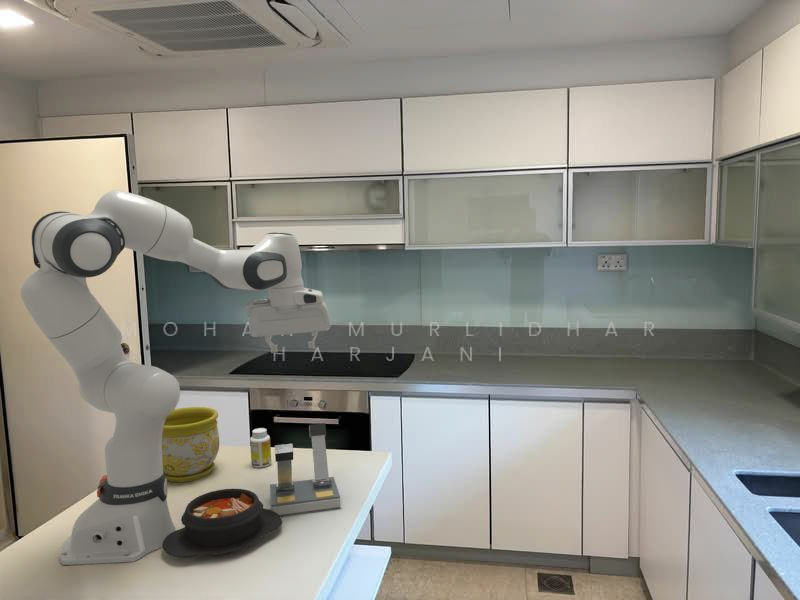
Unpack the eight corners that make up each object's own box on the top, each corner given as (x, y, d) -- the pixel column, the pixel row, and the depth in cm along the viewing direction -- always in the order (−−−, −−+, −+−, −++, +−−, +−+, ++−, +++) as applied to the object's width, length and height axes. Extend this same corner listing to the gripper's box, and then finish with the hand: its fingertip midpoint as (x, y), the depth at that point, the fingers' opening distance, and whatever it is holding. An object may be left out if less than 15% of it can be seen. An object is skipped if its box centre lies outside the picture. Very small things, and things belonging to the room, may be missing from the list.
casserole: (264, 508, 144) (263, 474, 143) (295, 540, 128) (293, 502, 127) (154, 539, 130) (152, 502, 129) (174, 579, 115) (171, 537, 114)
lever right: (313, 487, 145) (308, 424, 151) (313, 488, 147) (308, 427, 153) (331, 485, 146) (326, 423, 152) (331, 486, 148) (325, 425, 154)
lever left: (276, 495, 144) (274, 453, 135) (275, 487, 145) (273, 445, 137) (294, 493, 145) (294, 451, 136) (293, 485, 146) (293, 443, 138)
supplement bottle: (272, 460, 174) (270, 426, 173) (270, 467, 168) (268, 432, 167) (253, 461, 173) (251, 427, 172) (250, 469, 168) (248, 434, 167)
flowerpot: (216, 483, 159) (212, 423, 157) (145, 489, 156) (140, 428, 154) (225, 458, 176) (222, 404, 175) (162, 463, 174) (158, 408, 172)
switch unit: (271, 518, 138) (271, 504, 138) (270, 495, 150) (269, 483, 150) (340, 508, 142) (340, 495, 142) (334, 487, 154) (333, 475, 153)
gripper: (242, 302, 145) (249, 357, 148) (327, 295, 147) (332, 349, 149) (247, 298, 152) (253, 351, 154) (328, 291, 153) (333, 343, 155)
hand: (293, 350), depth 151 cm, fingers open, 8 cm apart
